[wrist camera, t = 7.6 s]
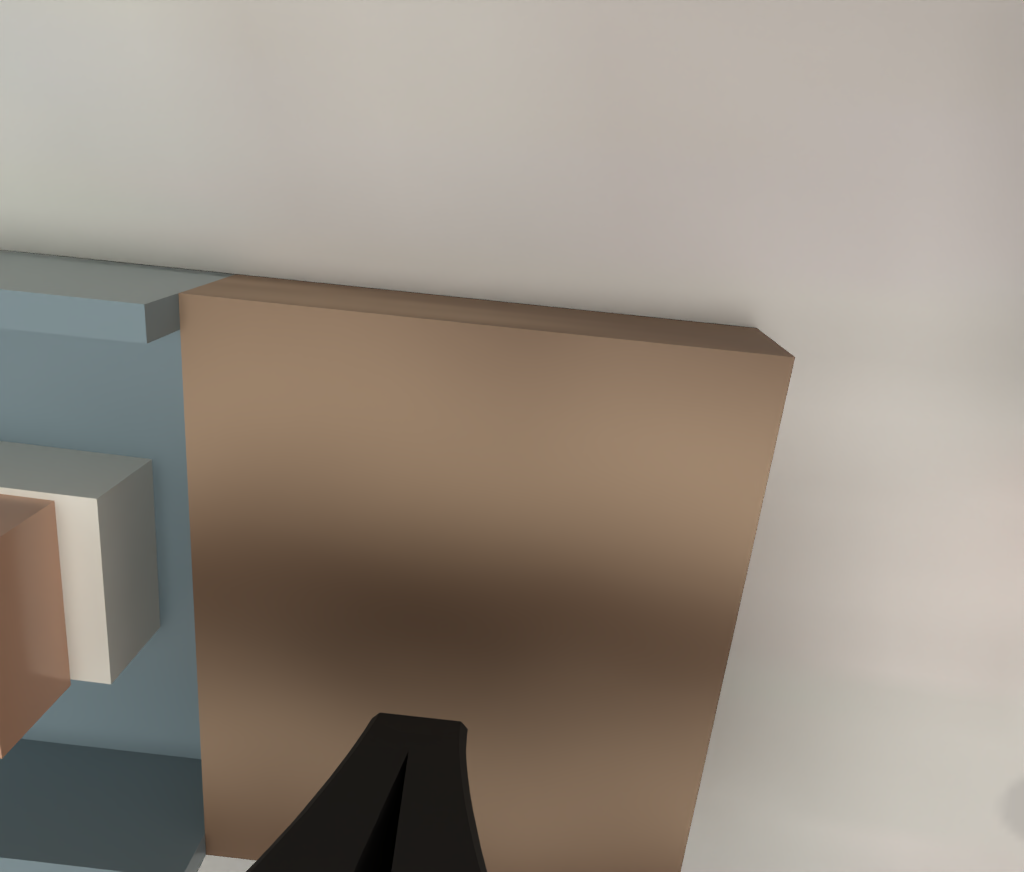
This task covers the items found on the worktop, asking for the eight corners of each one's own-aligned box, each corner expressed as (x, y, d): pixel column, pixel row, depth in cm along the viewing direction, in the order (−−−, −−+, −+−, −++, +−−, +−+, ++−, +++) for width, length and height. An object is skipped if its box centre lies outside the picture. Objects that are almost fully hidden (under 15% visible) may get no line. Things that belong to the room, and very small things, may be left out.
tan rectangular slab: (657, 818, 18) (672, 908, 16) (247, 771, 19) (205, 854, 16) (756, 328, 15) (794, 357, 12) (236, 273, 15) (178, 293, 12)
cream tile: (160, 626, 17) (110, 684, 15) (-19, 605, 17) (-90, 659, 15) (151, 459, 16) (96, 499, 14) (-42, 435, 16) (-124, 472, 14)
